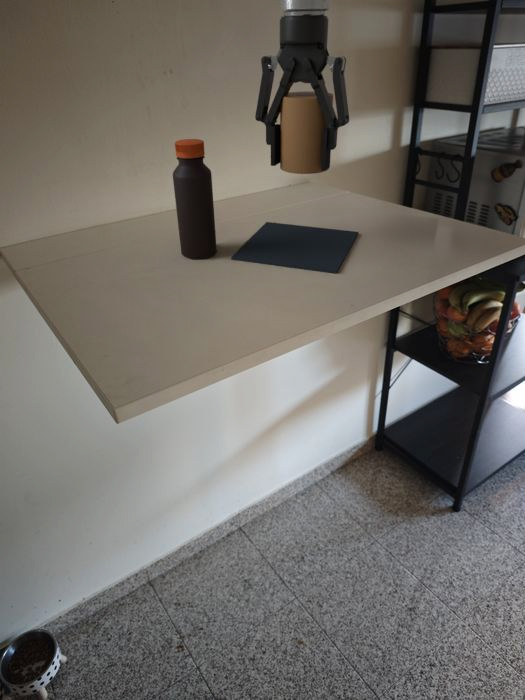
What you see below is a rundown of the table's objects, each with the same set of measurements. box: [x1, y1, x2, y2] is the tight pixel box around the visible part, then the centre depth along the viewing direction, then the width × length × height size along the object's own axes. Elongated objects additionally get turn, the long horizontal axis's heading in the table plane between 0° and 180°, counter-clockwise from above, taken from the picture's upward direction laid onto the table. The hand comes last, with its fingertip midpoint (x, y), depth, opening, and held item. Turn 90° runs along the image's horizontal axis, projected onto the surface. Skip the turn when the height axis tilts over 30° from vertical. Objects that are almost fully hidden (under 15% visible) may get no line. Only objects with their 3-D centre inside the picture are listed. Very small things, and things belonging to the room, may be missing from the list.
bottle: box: [172, 138, 218, 260], centre depth 90 cm, size 7×7×20 cm
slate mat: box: [230, 221, 359, 275], centre depth 97 cm, size 20×20×1 cm
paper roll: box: [279, 90, 334, 175], centre depth 88 cm, size 12×9×9 cm
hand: (299, 166), depth 89 cm, fingers closed on paper roll, 9 cm apart
